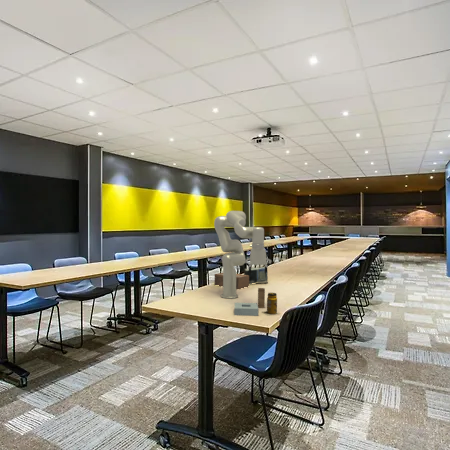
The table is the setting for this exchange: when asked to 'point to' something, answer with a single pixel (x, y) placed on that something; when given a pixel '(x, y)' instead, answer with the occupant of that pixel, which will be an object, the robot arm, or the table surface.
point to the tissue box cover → (240, 280)
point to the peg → (261, 297)
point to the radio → (257, 275)
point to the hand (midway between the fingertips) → (258, 273)
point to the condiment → (271, 304)
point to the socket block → (246, 309)
